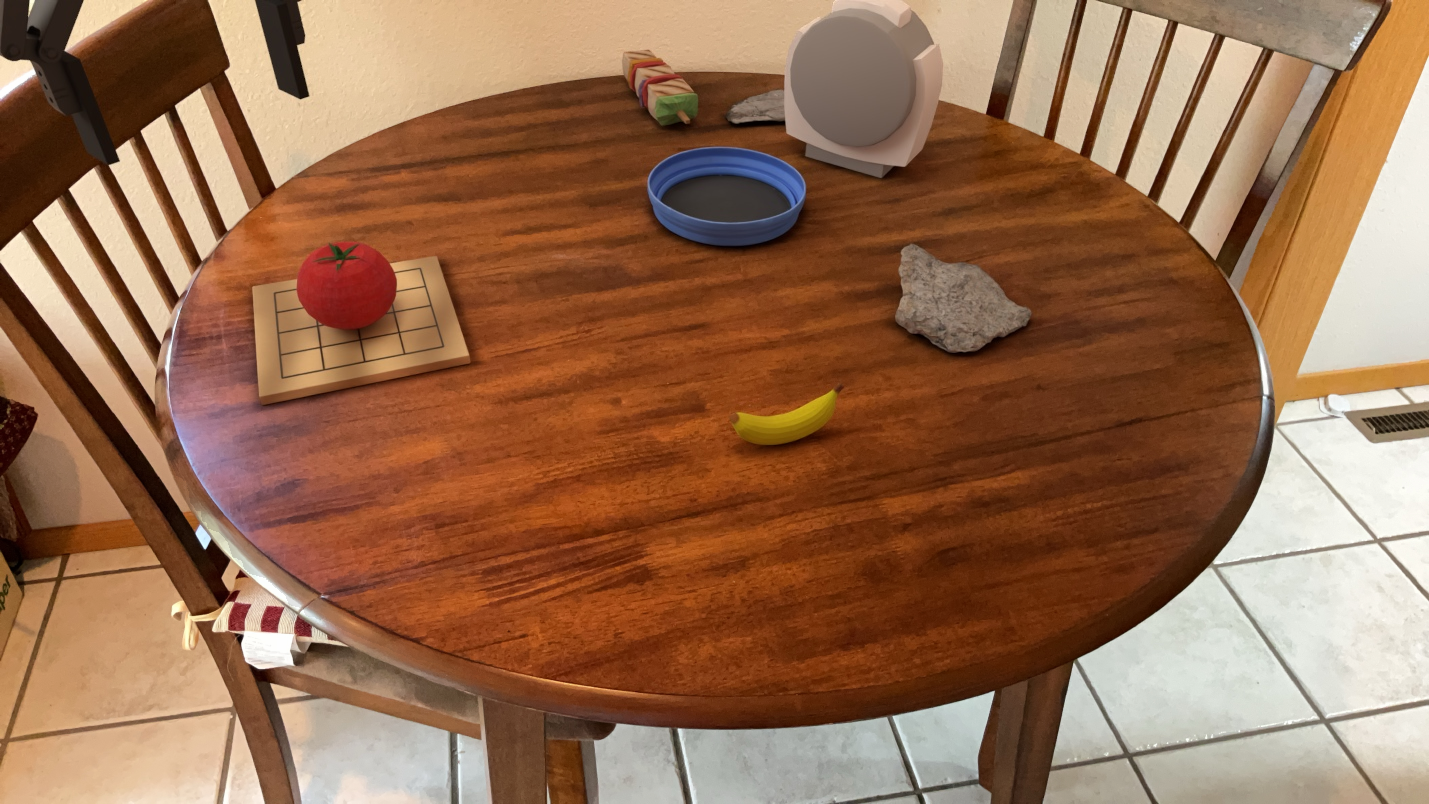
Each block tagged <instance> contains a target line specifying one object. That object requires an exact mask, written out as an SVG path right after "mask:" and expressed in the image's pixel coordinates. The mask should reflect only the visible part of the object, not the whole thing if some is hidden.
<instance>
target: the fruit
mask: <svg viewBox="0 0 1429 804" xmlns="http://www.w3.org/2000/svg"><path fill="white" fill-rule="evenodd" d="M844 389H845V385H844V383H842V382H837V383H836V385H835V386H834V387H833V388H832V389H831V390H830V391H829V392H827V393H826V394H824V395H821V396H819V397H817V398H815V399H812V400H811V401H809V402H808V403H806V404H804V405H802V406H800V407H798V408H795V409H793V410H791V411H789V412H784V413H780V414H775V415H769V416H765V415H764V416H763V415H755V414H750V413H746V412H741V411H739V412H738V411H737V412H732V413H731V414H729V420H730V423H731V426H732V428H733V429H734V431H735V433H736V434H737V435H738V437H739V438H740V439H742V440H743V441H745V442H747V443H751V444H755V445H761V446H774V445H782V444H783V445H784V444H788V443H791V442H795V441H798V440H800V439H803V438H805V437H808V436H809V435H811V434H813V433H815V432H817V431H819V430H820V429H821V428H822V427H824V426H825V425H826V424H827V423H829V421H830V420H831V419H832V416H833V415H834V412H835V409H836V405H837V398H838V395H839V394H840V393H841V392H842V391H843V390H844Z"/></svg>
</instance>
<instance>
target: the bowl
mask: <svg viewBox="0 0 1429 804" xmlns="http://www.w3.org/2000/svg"><path fill="white" fill-rule="evenodd" d="M646 187H647V189H646V190H647V194H648V198H649V202H650V203H651V205H652V209H653V213H654V215H655V217H656V219H657V220H658V222H659V223H660V224H662V226H663V227H665V228H666V229H667V230H668V231H670V232H671V233H674V234H676V235H677V236H680V237H681V238H684V239H687V240H690V241H692V242H697V243H700V244H704V245H705V244H706V245H712V246H720V247H742V246H751V245H757V244H761V243H766V242H768V241H771V240H775V239H776V238H779V237H781V236H783V235H784V234H785V233H787V232H788V231H789V230H790V229H792V227H793V226H794V225H795V224H796V222H797V220H798V218H799V214H800V212H801V211H802V208H803V206H804V204H805V202H806V196H807V185H806V181H805V179H804V176H802V174H801V173H800V172H799V170H797V169H796V168H795V167H794V166H792V165H791V164H790V163H788V162H786V161H785V160H782V159H780V158H779V157H776V156H774V155H770V154H768V153H765V152H762V151H758V150H753V149H748V148H741V147H733V146H731V147H730V146H708V147H707V146H706V147H699V148H693V149H692V148H691V149H688V150H684V151H681V152H678V153H676V154H673V155H671V156H669V157H667V158H665V159H663V160H662V161H660V162H659V163H658V164H657V165H656V166H654V168H653V169H652V170H651V171H650V173H649V175H648V177H647V186H646Z"/></svg>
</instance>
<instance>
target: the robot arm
mask: <svg viewBox="0 0 1429 804" xmlns="http://www.w3.org/2000/svg"><path fill="white" fill-rule="evenodd" d="M84 1H85V0H33V4H32V7H31V9H30V2H31V0H0V57H2V58H4V59H6V60H7V61H10V62H18V61H28V62H30V64H31V65H32V67H33V70H34V73H35V75H36V77H37V79H38V82H39V84H40V86H41V89H42V92H43V93H44V96H45V99H46V101H47V103H48V104H49V105H50V106H51V107H52V108H53V109H54V110H56V111H57V112H59V113H60V114H62V115H64V116H65V117H67V116H70V115H71V117H72V119H73V121H74V124H75V126H76V129H77V131H78V133H79V136H80V138H81V141H82V143H83V146H84V148H85V150H86V153H87V154H89V155H90V156H92V157H94V158H96V159H97V160H98V161H100V162H101V163H103V164H105V165H106V166H111V165H114V164H117V163H120V162H121V159H120V158H119V155H118V152H117V149H116V147H115V145H114V142H113V139H112V137H111V134H110V132H109V129H108V128H107V124H106V122H105V119H104V116H103V114H102V112H101V109H100V106H99V103H98V101H97V99H96V97H95V94H94V91H93V88H92V86H91V83H90V81H89V79H88V75H87V73H86V71H85V68H84V65H83V63H82V61H81V58H79V57H77V56H76V55H73V54H71V53H69V52H67V51H66V48H67V46H68V44H69V43H68V42H69V40H70V38H71V35H72V32H73V31H74V27H75V25H76V22H77V20H78V17H79V14H80V12H81V9H82V6H83V4H84ZM301 1H303V0H254V3H255V6H256V11H257V15H258V17H259V21H260V25H261V28H262V33H263V36H264V40H265V43H266V48H267V51H268V55H269V60H270V63H271V67H272V70H273V74H274V78H275V81H276V85H277V89H278V90H279V91H282V92H283V93H286V94H288V95H290V96H292V97H294V98H296V99H298V100H304V99H306V98H310V93H309V89H308V84H307V80H306V75H305V72H304V67H303V64H302V60H301V55H300V51H299V47H298V46H301V45H304V44H305V43H306V32H305V28H304V24H303V21H302V16H301V10H300V7H299V2H301Z"/></svg>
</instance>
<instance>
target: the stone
mask: <svg viewBox="0 0 1429 804" xmlns="http://www.w3.org/2000/svg"><path fill="white" fill-rule="evenodd" d="M730 108H731V109H729V110H727V111H726V113H725V118H726V120H727V121H728V122H731V123H732V124H736V125H737V124H740V123H749V122H751V123H752V122H759V121H760V122H761V121H762V122H769V121H775V122H786V121H785V109H784V89H780V88H777V89H774V90H769V91H766V92H764V93H760V94H757V95H751V96H748V97H747V98H745V99H742V100H738V101H736V102H735V103H733V104H731V107H730Z"/></svg>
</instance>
